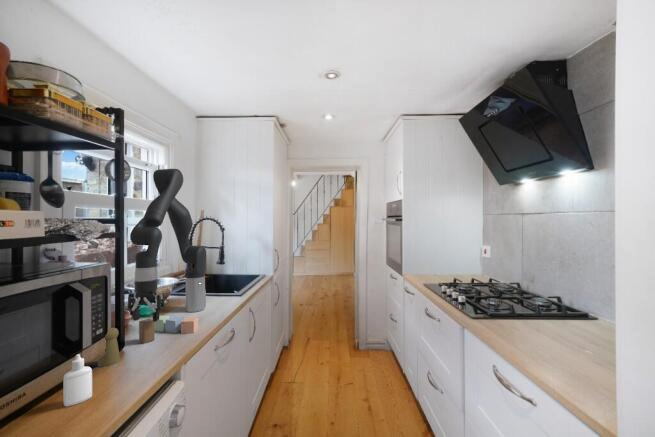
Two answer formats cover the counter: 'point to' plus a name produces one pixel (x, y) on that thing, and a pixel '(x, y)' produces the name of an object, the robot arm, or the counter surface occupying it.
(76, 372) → the eye dropper bottle
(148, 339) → the wooden block
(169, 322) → the slate blue cube
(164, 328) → the sage cube
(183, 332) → the terracotta cube
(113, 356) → the olive pawn
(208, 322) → the counter surface
